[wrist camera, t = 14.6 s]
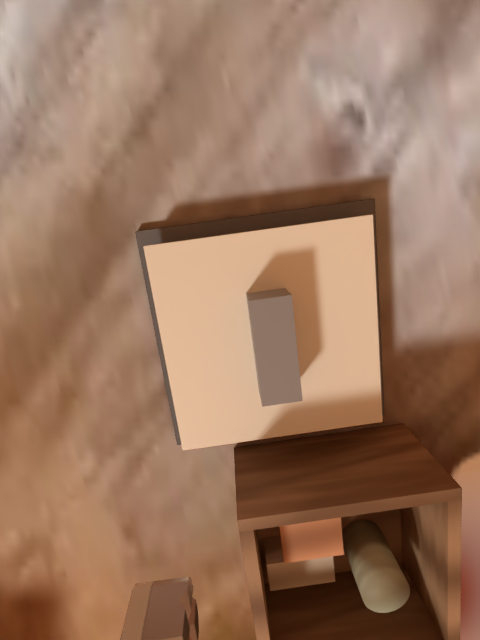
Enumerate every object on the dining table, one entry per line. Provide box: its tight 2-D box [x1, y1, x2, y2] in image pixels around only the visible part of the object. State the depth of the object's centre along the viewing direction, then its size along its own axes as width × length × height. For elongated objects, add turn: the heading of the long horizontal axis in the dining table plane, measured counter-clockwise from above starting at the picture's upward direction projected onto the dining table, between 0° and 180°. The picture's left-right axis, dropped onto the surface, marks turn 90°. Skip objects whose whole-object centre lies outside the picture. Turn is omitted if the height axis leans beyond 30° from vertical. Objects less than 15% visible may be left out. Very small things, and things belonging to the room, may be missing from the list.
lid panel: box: [143, 215, 383, 450], centre depth 30 cm, size 17×17×5 cm
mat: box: [135, 199, 384, 445], centre depth 33 cm, size 19×19×1 cm
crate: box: [234, 424, 462, 640], centre depth 33 cm, size 16×16×9 cm
